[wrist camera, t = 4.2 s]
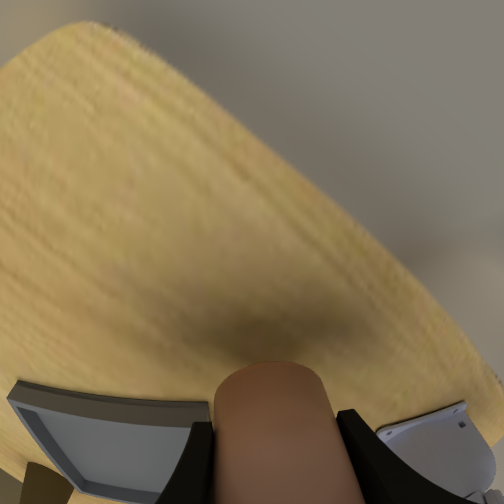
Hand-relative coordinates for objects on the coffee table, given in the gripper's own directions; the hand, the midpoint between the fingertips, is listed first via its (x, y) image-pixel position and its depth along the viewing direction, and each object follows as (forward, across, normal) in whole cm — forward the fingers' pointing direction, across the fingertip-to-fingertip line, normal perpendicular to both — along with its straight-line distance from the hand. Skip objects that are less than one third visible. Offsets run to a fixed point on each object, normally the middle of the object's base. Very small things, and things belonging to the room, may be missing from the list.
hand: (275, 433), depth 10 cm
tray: (+5, +10, +11) cm, 16 cm away
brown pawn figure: (+6, +23, +21) cm, 32 cm away
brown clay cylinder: (+2, 0, 0) cm, 2 cm away
